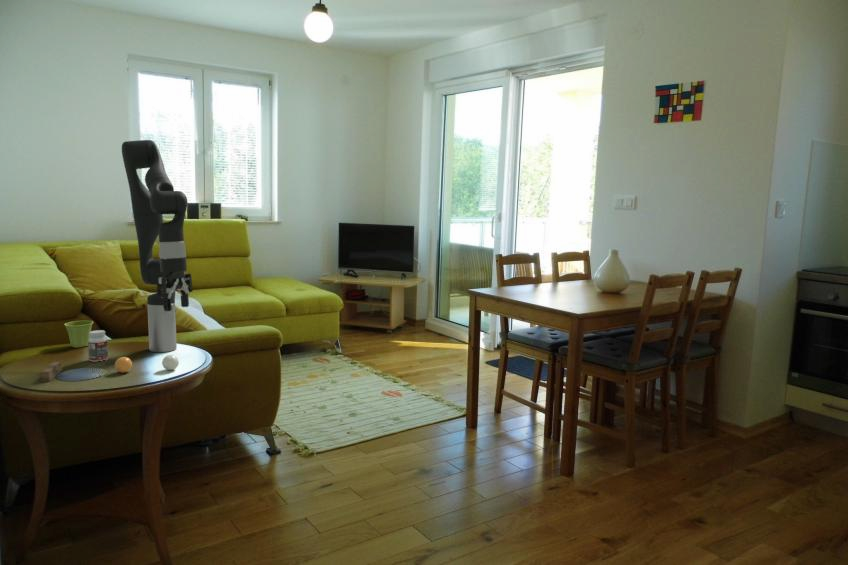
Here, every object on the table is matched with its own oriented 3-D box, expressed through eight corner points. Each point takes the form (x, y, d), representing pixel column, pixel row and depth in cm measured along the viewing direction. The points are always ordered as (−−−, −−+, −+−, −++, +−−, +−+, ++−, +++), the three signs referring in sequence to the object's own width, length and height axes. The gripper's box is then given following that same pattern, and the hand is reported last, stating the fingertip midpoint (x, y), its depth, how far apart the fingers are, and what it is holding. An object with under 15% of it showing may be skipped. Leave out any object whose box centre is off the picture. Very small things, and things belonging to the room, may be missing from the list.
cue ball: (163, 368, 203) (163, 353, 202) (179, 367, 204) (179, 352, 203) (161, 372, 198) (160, 357, 197) (178, 371, 199) (177, 356, 199)
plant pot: (61, 349, 223) (60, 326, 222) (71, 343, 232) (69, 320, 231) (90, 348, 225) (88, 325, 224) (98, 342, 234) (96, 320, 233)
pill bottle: (100, 362, 207) (98, 334, 206) (85, 361, 208) (83, 333, 207) (111, 358, 213) (110, 330, 212) (97, 357, 214) (95, 329, 213)
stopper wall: (54, 370, 197) (53, 361, 197) (61, 370, 198) (60, 361, 198) (42, 381, 186) (41, 372, 186) (49, 381, 187) (48, 371, 186)
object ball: (117, 370, 199) (116, 355, 198) (133, 369, 200) (133, 354, 200) (113, 375, 194) (112, 359, 194) (130, 374, 196) (130, 358, 195)
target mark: (64, 369, 199) (63, 368, 199) (111, 367, 203) (111, 366, 203) (50, 382, 186) (50, 381, 186) (101, 379, 189) (101, 379, 189)
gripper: (176, 255, 197) (180, 305, 199) (146, 258, 183) (151, 312, 185) (197, 254, 195) (200, 305, 197) (168, 257, 181) (172, 312, 183)
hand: (176, 308), depth 191 cm, fingers open, 8 cm apart
